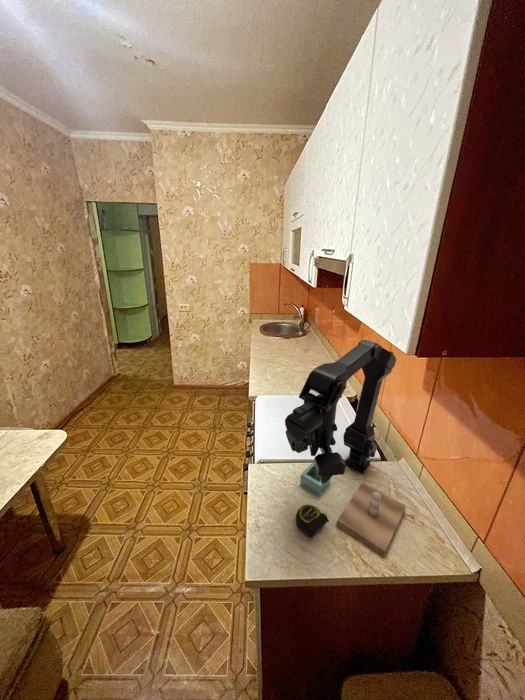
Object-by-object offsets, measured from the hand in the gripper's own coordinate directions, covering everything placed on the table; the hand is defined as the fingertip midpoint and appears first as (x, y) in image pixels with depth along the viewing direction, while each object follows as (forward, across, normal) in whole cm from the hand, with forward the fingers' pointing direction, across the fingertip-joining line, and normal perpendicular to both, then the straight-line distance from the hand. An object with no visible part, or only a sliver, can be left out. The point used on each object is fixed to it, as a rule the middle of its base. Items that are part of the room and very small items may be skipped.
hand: (318, 468), depth 76 cm
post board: (+13, +6, +14) cm, 20 cm away
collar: (+13, -7, +2) cm, 15 cm away
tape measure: (+13, +6, -3) cm, 15 cm away
